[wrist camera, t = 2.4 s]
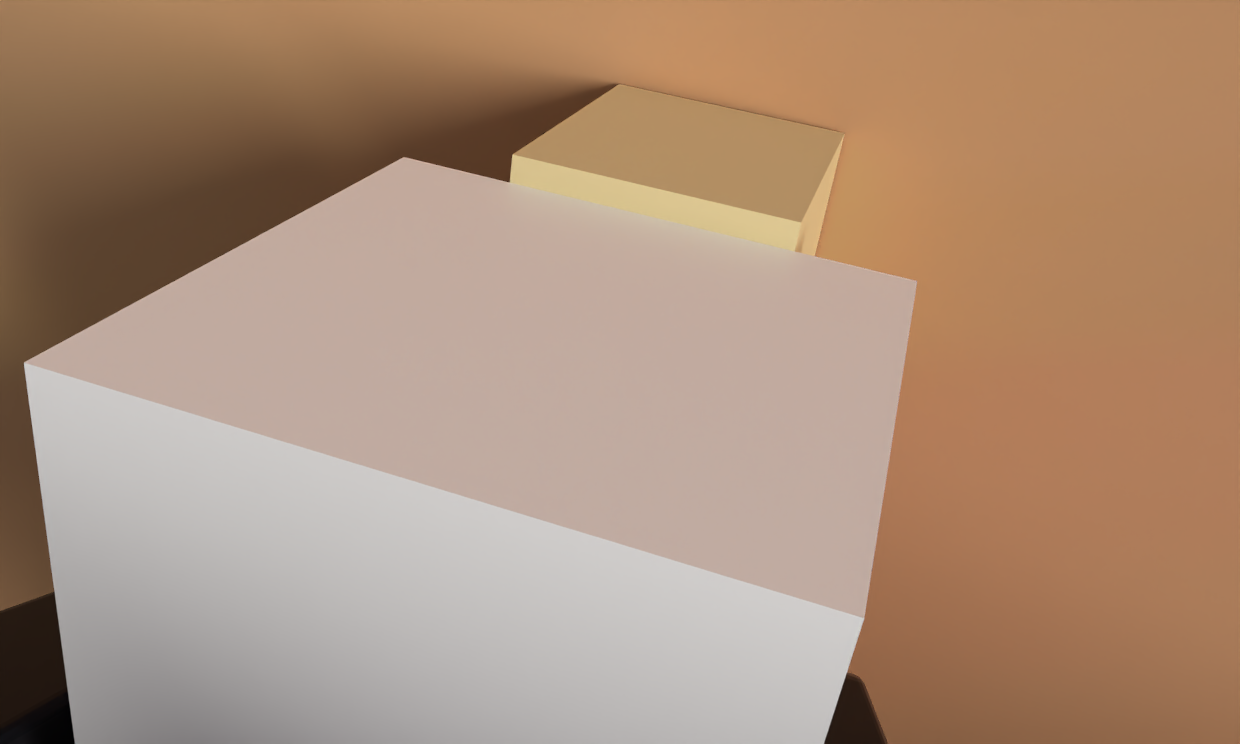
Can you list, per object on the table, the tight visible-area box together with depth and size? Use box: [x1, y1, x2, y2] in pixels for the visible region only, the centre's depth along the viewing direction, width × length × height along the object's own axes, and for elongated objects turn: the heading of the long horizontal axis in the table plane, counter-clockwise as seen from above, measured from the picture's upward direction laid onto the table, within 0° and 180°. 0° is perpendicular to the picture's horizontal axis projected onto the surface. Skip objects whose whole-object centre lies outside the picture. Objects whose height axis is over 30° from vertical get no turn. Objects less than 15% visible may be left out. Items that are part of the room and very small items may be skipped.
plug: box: [24, 84, 917, 744], centre depth 9 cm, size 4×9×6 cm, turn 171°
